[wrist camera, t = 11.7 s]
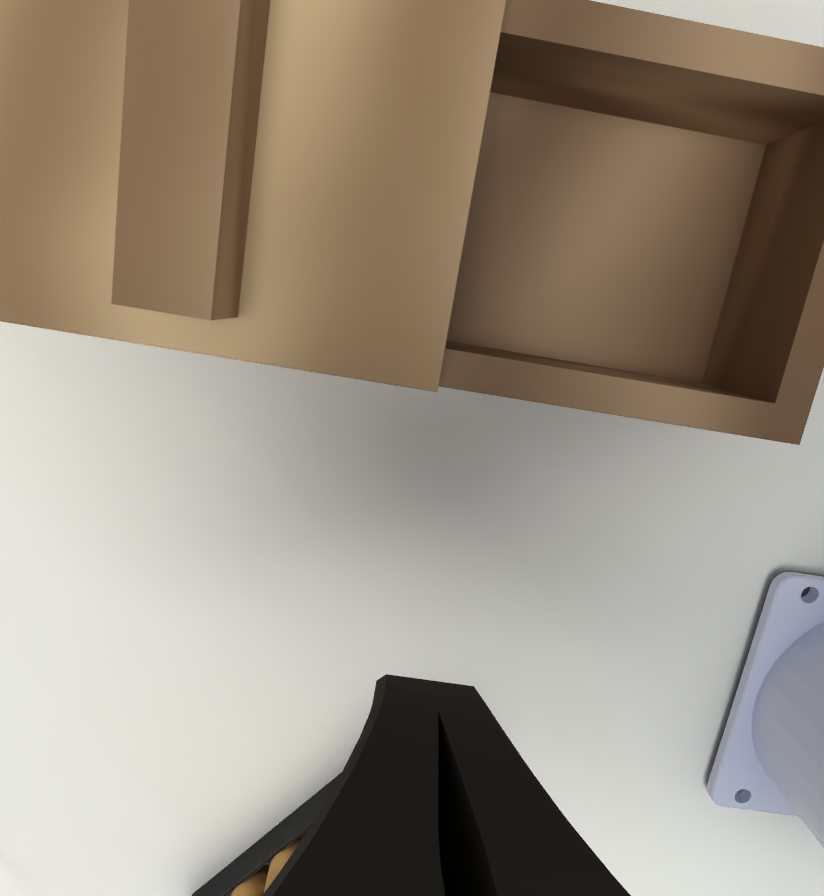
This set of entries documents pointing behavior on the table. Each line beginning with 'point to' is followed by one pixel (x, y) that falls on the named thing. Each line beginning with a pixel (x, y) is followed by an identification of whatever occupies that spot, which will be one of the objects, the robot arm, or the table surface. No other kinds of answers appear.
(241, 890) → the ammunition clip
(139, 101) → the lid
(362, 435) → the table surface
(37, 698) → the table surface
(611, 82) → the wooden box
